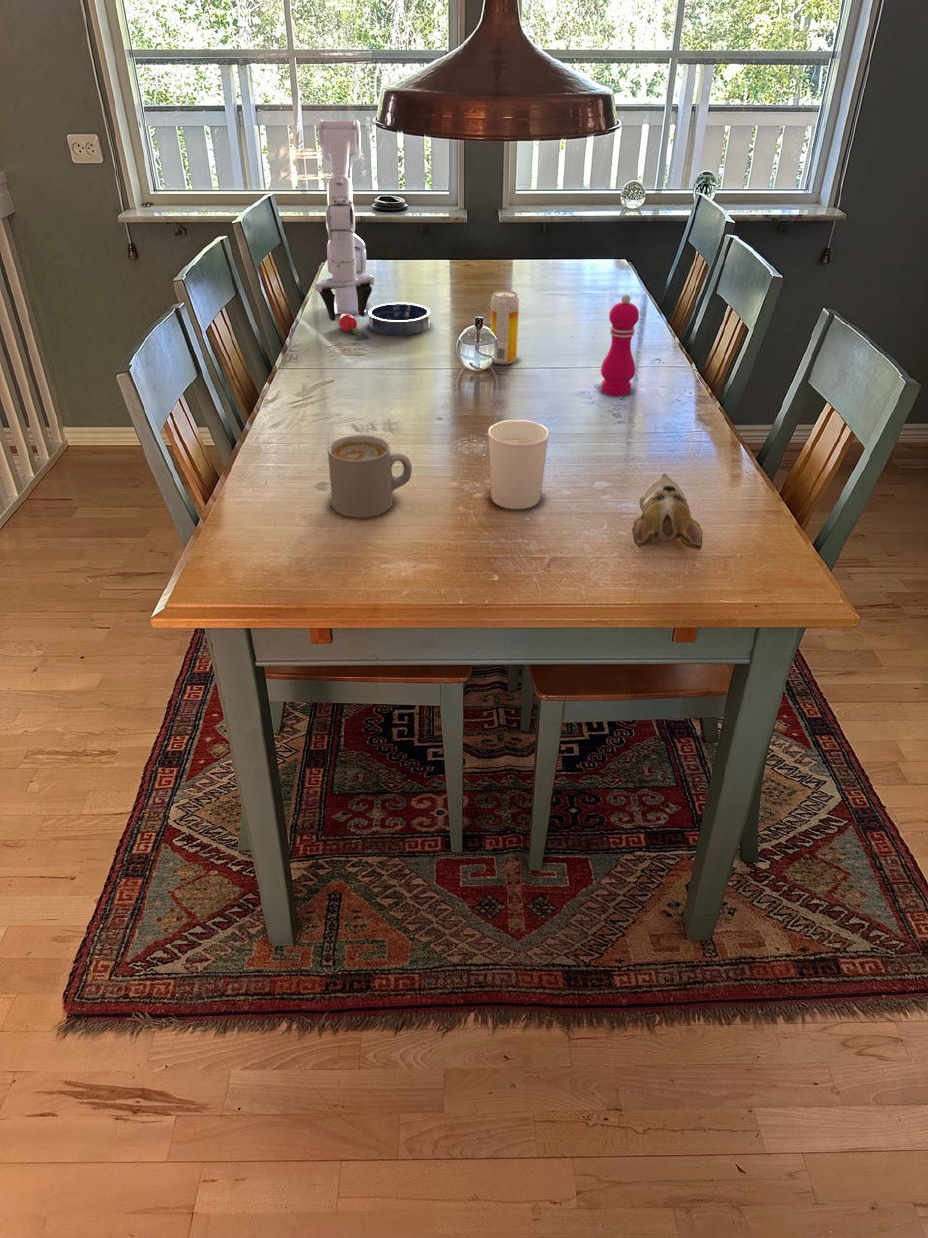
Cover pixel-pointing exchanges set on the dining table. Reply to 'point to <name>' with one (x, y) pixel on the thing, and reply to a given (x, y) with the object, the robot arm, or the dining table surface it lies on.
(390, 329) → the bowl
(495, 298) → the beer can
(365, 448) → the coffee mug
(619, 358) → the pepper mill
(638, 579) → the dining table surface
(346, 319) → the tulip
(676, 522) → the ceramic sculpture
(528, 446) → the white cup
